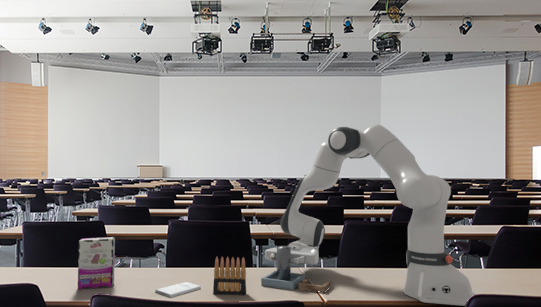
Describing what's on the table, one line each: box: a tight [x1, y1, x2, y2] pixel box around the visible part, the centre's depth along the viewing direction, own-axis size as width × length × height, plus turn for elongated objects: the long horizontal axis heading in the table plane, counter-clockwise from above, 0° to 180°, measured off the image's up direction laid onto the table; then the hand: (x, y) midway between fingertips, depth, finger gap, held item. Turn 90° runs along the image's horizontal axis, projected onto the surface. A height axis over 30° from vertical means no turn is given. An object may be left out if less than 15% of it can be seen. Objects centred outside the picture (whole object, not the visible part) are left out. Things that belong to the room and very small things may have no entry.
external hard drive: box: [154, 281, 202, 298], centre depth 128 cm, size 2×8×12 cm
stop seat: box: [298, 277, 332, 293], centre depth 131 cm, size 9×8×2 cm
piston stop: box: [276, 245, 292, 281], centre depth 137 cm, size 5×5×12 cm
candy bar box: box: [77, 236, 116, 290], centre depth 133 cm, size 11×5×16 cm, turn 105°
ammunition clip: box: [212, 256, 247, 296], centre depth 125 cm, size 11×2×12 cm, turn 86°
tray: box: [260, 270, 306, 291], centre depth 137 cm, size 12×12×2 cm
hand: (283, 259), depth 137 cm, fingers open, 8 cm apart
